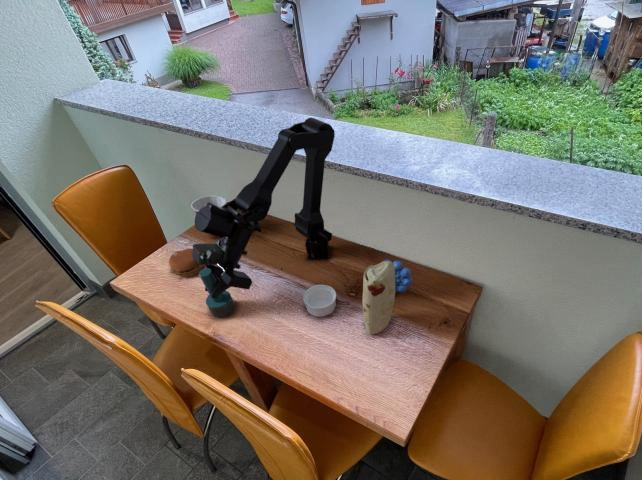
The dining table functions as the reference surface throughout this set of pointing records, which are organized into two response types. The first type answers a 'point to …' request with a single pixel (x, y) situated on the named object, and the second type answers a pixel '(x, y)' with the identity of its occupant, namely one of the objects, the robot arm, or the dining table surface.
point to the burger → (184, 263)
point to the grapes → (401, 277)
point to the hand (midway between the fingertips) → (209, 294)
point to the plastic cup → (204, 200)
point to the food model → (378, 296)
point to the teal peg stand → (223, 302)
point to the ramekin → (320, 300)
